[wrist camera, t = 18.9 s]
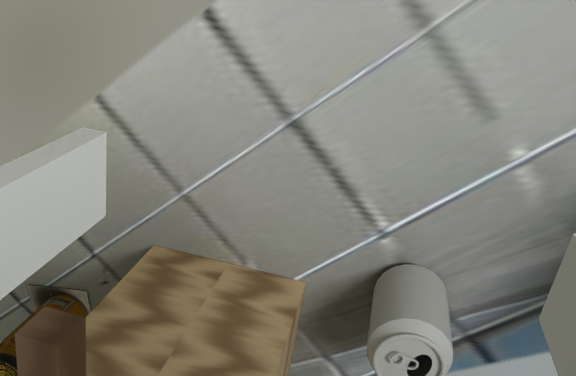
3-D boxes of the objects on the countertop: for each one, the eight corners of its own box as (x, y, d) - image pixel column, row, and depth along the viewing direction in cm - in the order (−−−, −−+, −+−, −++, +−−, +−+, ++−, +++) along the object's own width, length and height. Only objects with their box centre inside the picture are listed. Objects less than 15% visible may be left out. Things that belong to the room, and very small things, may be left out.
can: (424, 332, 58) (426, 414, 47) (362, 300, 59) (350, 376, 48) (460, 280, 55) (472, 356, 44) (394, 248, 55) (390, 315, 44)
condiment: (96, 338, 69) (37, 407, 58) (38, 330, 71) (-30, 396, 60) (88, 290, 66) (24, 352, 55) (27, 283, 68) (-46, 342, 57)
